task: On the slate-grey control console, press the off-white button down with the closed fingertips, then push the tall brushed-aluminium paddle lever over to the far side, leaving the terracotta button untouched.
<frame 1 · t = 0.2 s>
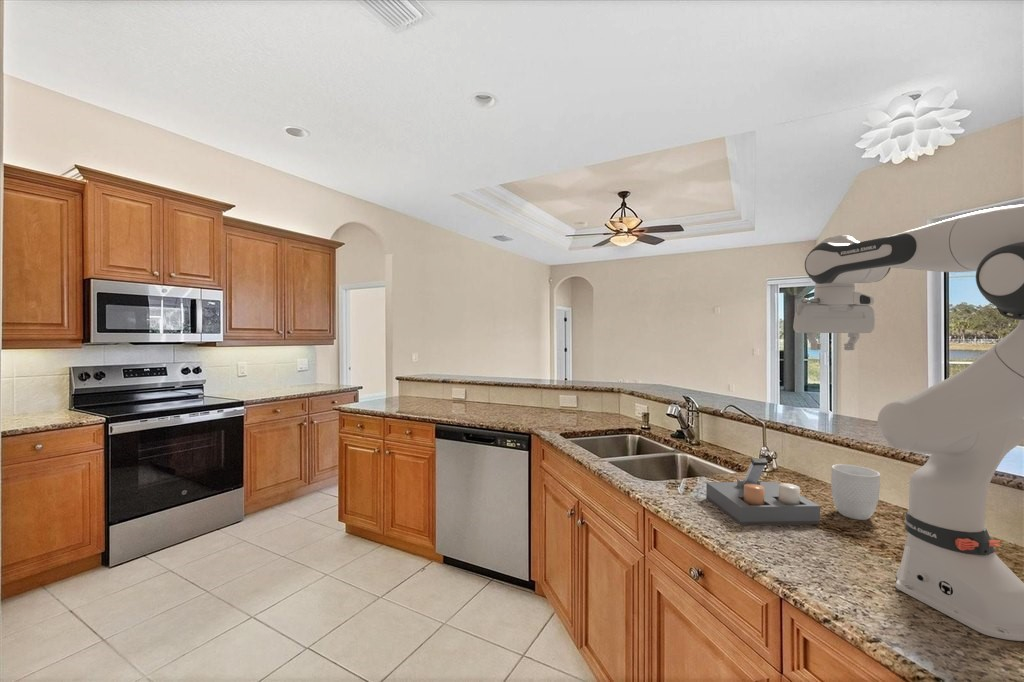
hand: (832, 350, 120), 47 cm above the countertop, fingers open, 8 cm apart
white button: (789, 495, 124), point 6 cm above the countertop, slide at 0.0 cm
terracotta button: (754, 495, 124), point 6 cm above the countertop, slide at 0.0 cm
lever: (753, 473, 132), point 10 cm above the countertop, hinge at -30.0°
mug: (854, 515, 128), on the countertop
console: (760, 511, 129), on the countertop
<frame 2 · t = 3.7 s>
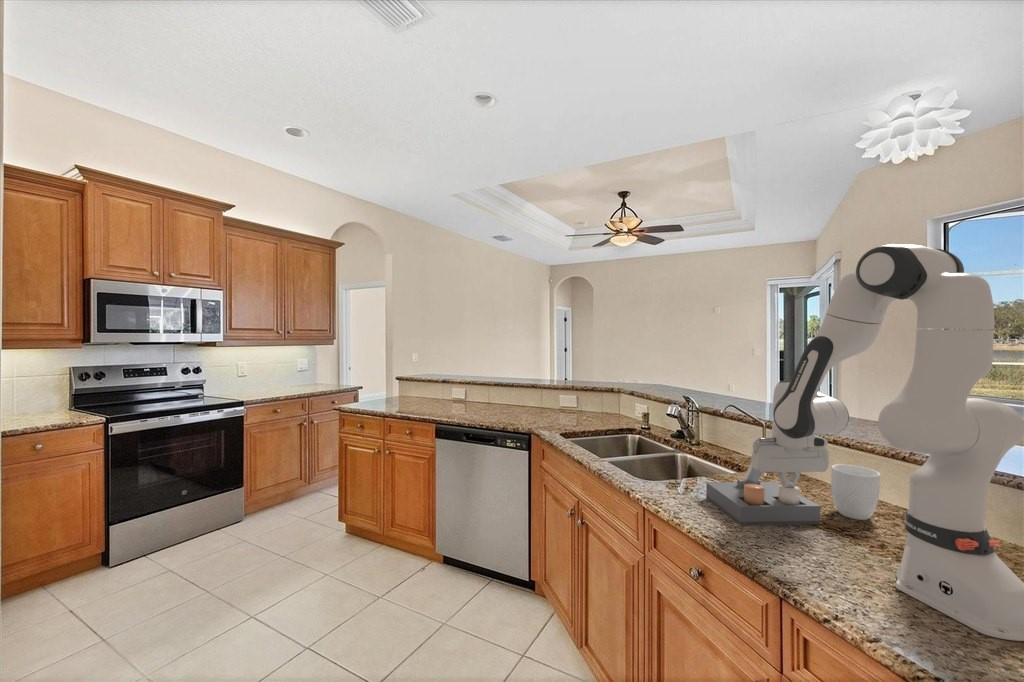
hand: (788, 486, 125), 9 cm above the countertop, fingers closed, pressing on white button
white button: (788, 496, 124), point 6 cm above the countertop, slide at 0.3 cm, touching gripper
everything else where it was.
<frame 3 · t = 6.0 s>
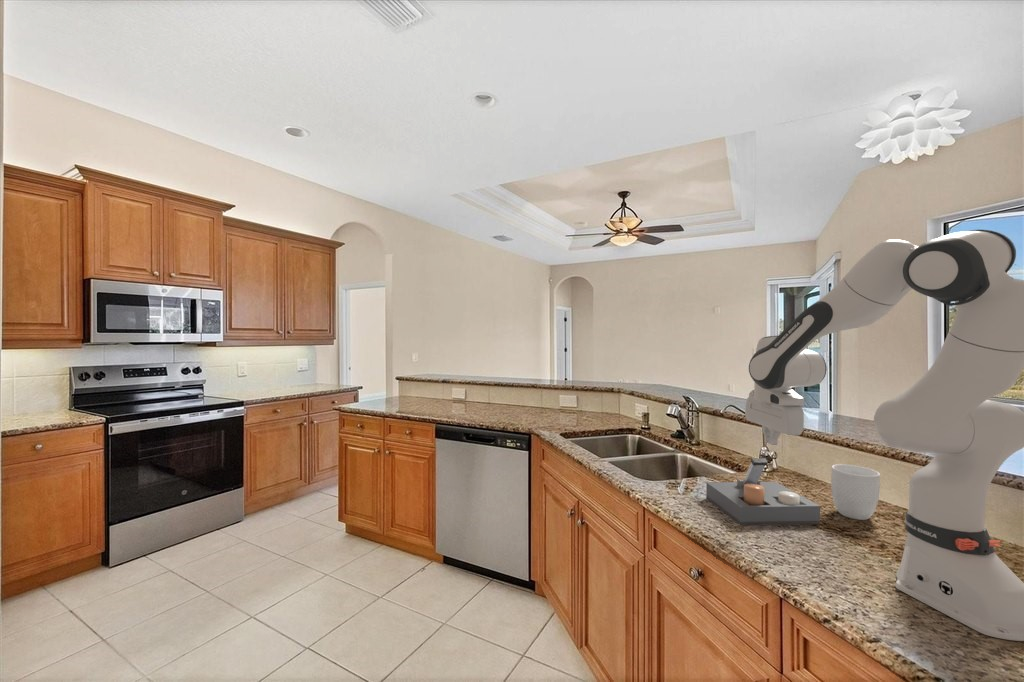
hand: (770, 443, 124), 21 cm above the countertop, fingers closed
white button: (788, 503, 124), point 4 cm above the countertop, slide at 2.3 cm
everything else where it was.
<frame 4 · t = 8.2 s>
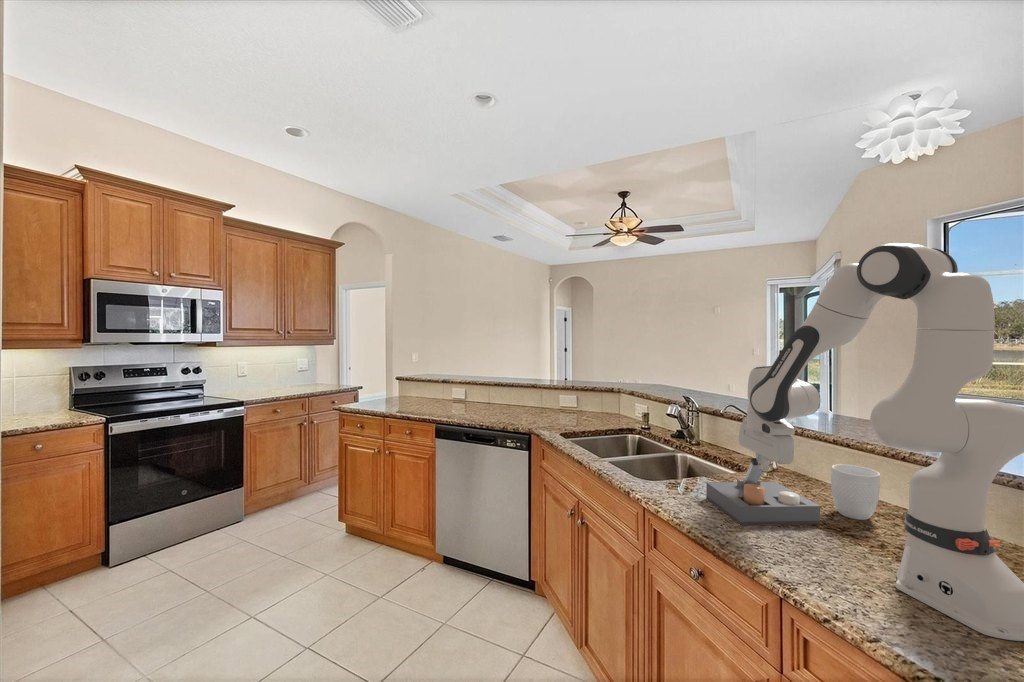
hand: (763, 470, 128), 12 cm above the countertop, fingers closed, pressing on lever
lever: (753, 473, 133), point 10 cm above the countertop, hinge at -29.8°, touching gripper
everything else where it was.
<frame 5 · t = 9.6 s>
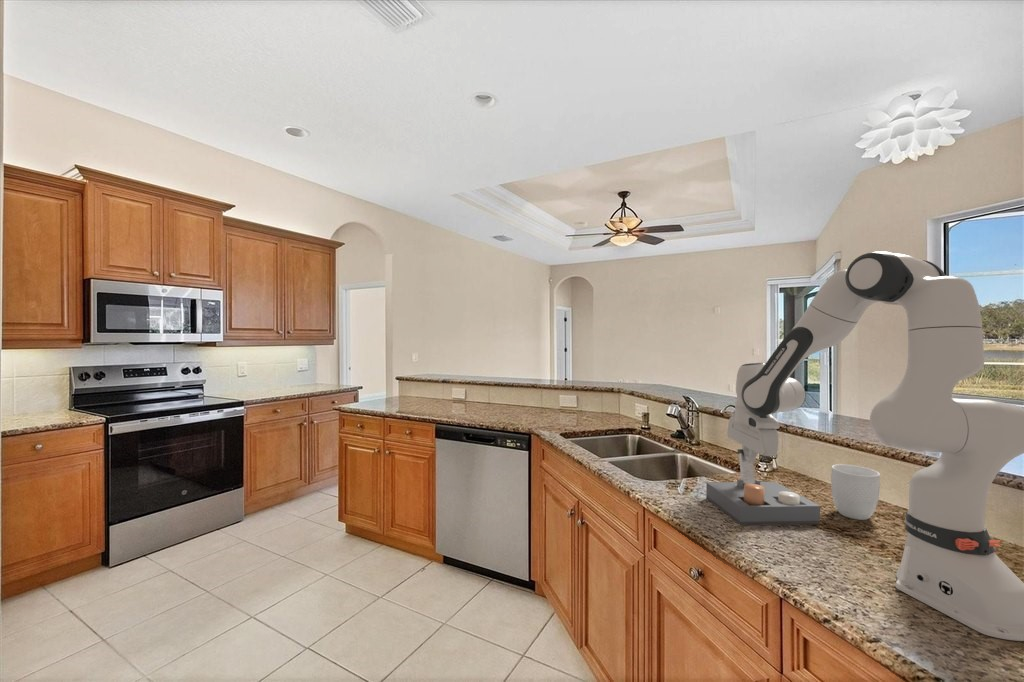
hand: (749, 461, 134), 13 cm above the countertop, fingers closed
lever: (746, 467, 136), point 10 cm above the countertop, hinge at 12.3°, touching gripper
everything else where it was.
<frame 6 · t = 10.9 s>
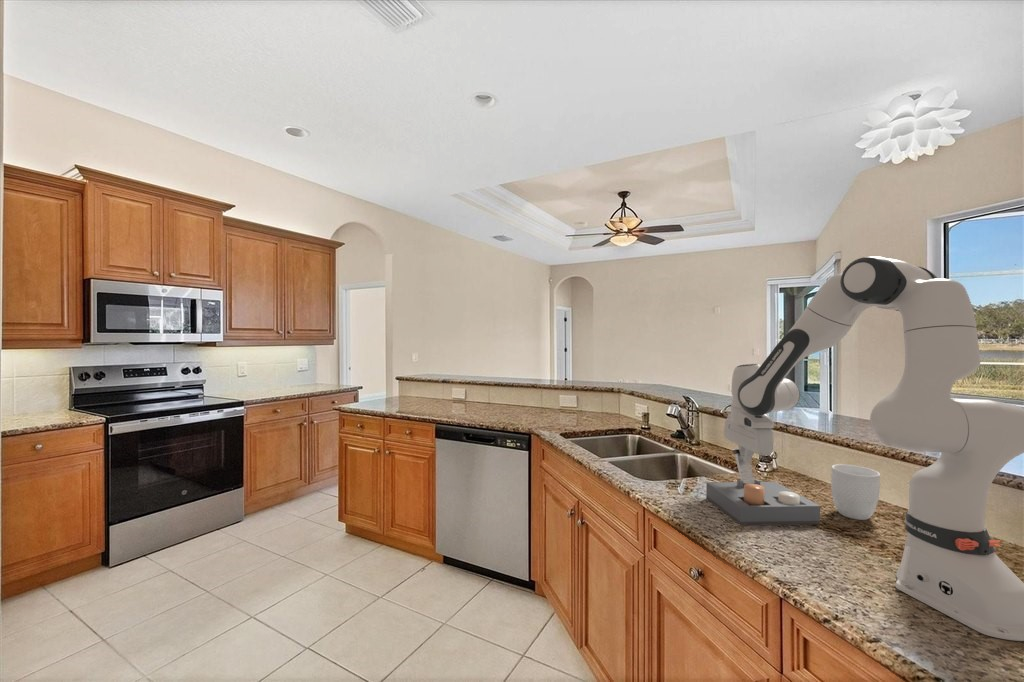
hand: (745, 461, 136), 12 cm above the countertop, fingers closed
lever: (744, 467, 137), point 10 cm above the countertop, hinge at 26.8°, touching gripper
everything else where it was.
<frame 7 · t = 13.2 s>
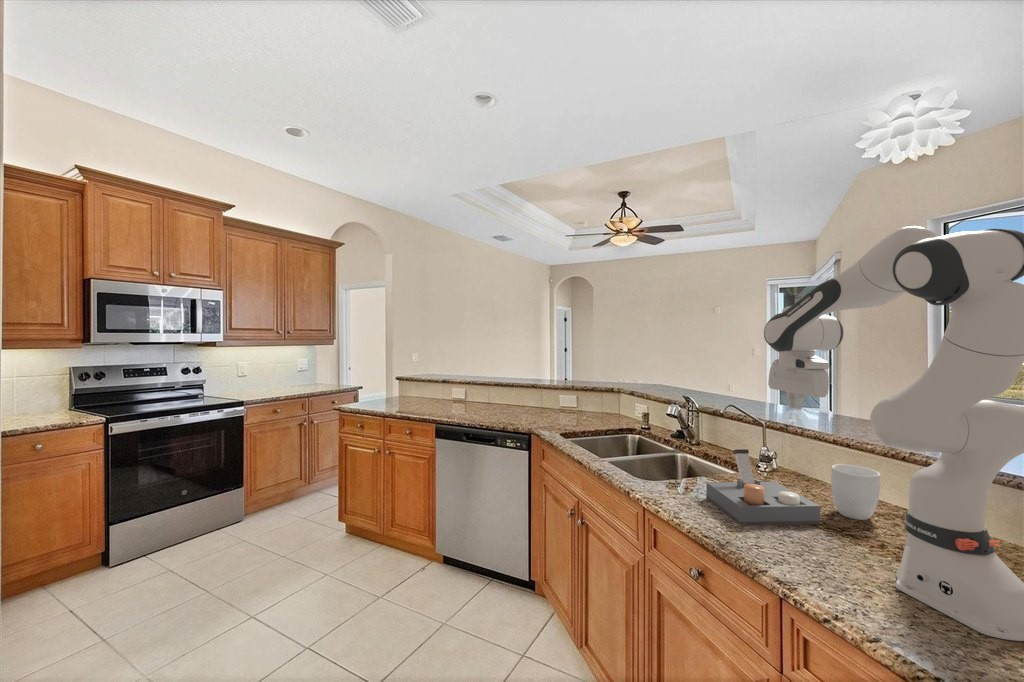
hand: (795, 408, 129), 30 cm above the countertop, fingers closed
lever: (744, 467, 137), point 10 cm above the countertop, hinge at 26.8°
everything else where it was.
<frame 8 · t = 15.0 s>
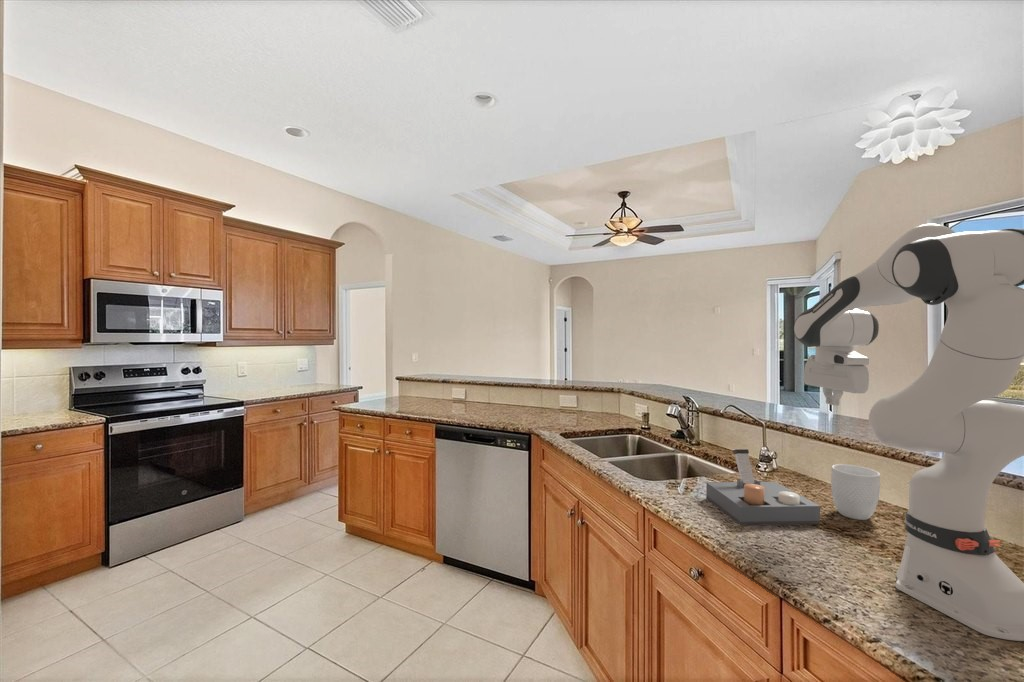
hand: (832, 404, 128), 31 cm above the countertop, fingers closed
nothing on the countertop moved.
at the end: white button slide at 2.3 cm; lever at +27° (first picture: -30°); terracotta button slide at 0.0 cm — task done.
